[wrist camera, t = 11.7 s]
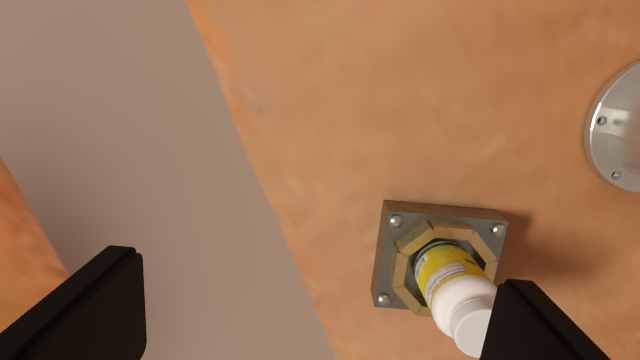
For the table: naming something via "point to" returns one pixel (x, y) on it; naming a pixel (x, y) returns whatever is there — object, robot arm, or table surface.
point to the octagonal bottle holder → (422, 230)
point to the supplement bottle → (456, 293)
